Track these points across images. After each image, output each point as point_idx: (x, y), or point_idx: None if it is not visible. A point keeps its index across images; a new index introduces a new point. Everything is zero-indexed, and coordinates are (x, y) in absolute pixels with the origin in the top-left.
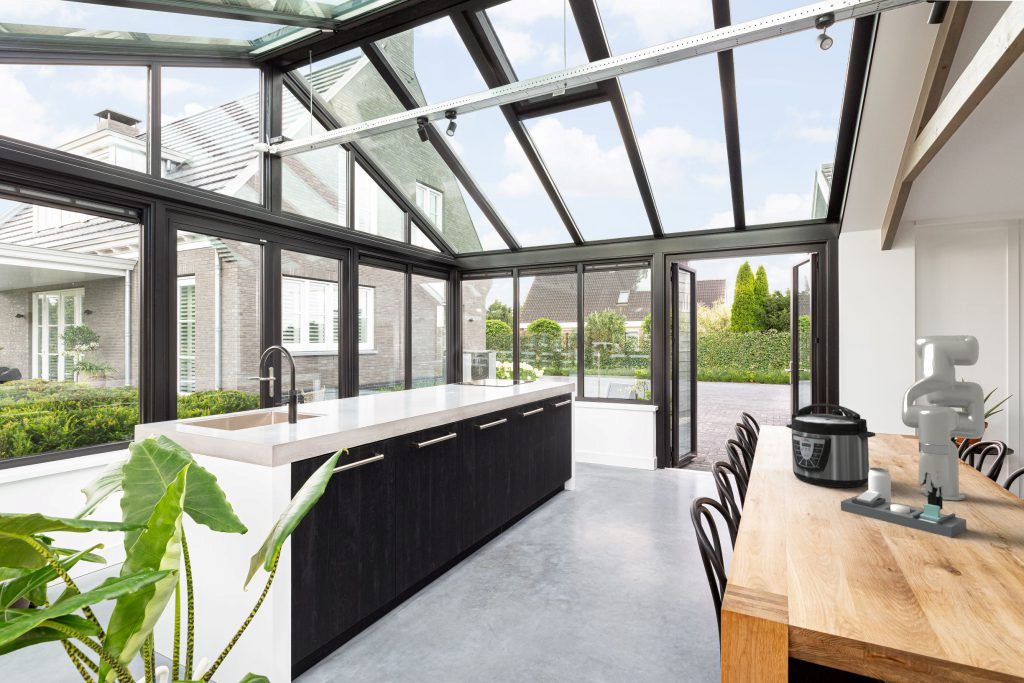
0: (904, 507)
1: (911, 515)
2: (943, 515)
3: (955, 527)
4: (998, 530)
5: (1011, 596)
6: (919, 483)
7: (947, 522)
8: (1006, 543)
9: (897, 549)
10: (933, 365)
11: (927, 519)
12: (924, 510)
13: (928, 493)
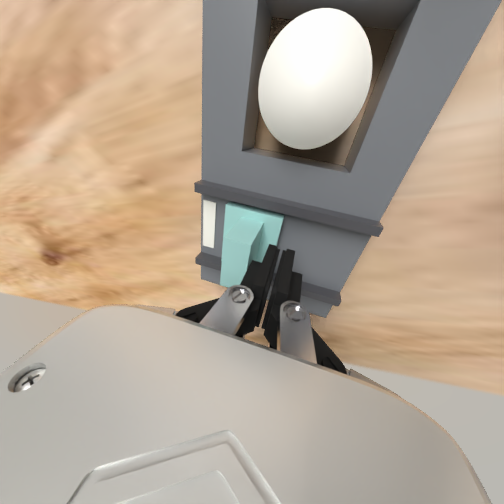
0: (306, 119)
1: (239, 168)
2: (331, 268)
3: None
4: (365, 347)
5: (54, 301)
6: (83, 316)
7: None
8: (262, 337)
9: (29, 170)
10: None
11: None
12: (234, 227)
13: (224, 297)
